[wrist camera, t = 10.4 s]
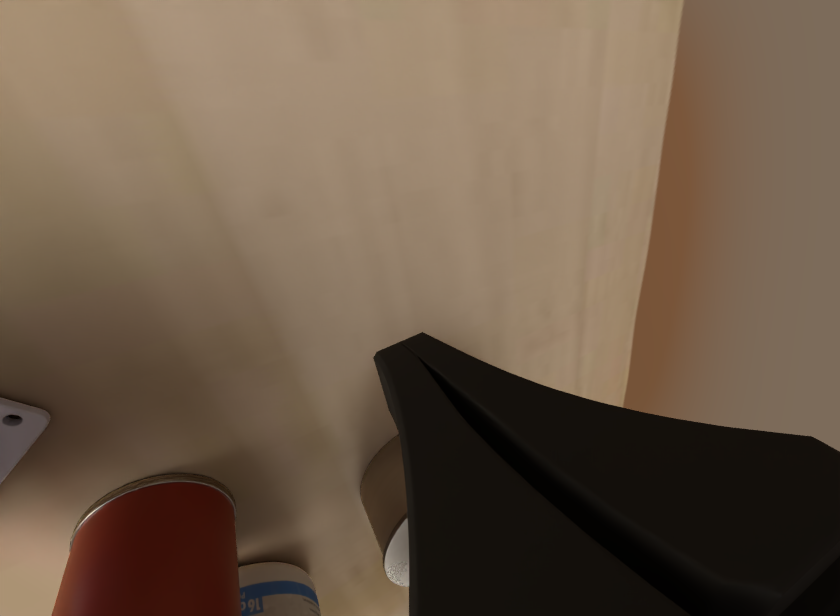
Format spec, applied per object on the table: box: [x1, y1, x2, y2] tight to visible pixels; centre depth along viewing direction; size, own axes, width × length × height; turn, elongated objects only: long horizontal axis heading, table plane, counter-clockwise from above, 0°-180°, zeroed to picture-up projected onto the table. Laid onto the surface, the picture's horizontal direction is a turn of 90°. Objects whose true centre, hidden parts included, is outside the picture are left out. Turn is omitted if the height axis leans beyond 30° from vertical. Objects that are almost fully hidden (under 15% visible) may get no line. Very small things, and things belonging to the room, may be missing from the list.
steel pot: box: [360, 435, 409, 587], centre depth 25 cm, size 9×9×5 cm
